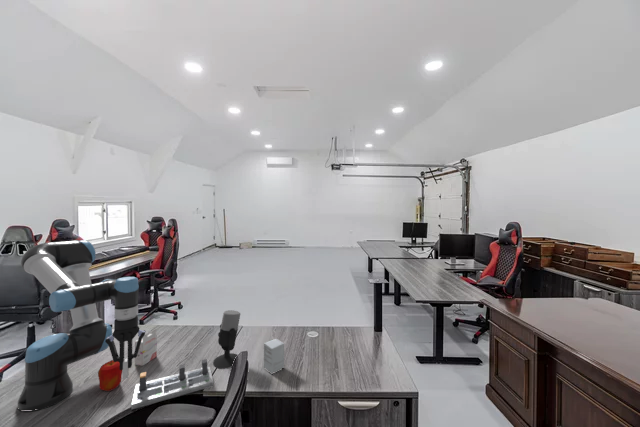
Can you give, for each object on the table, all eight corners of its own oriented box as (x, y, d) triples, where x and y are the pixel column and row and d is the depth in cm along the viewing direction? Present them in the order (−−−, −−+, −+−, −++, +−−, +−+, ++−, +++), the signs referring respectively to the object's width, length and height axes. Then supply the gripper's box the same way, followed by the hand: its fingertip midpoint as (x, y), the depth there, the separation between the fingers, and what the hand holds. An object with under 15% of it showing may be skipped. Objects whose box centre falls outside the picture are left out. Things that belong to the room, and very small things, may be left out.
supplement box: (275, 362, 131) (276, 337, 131) (284, 369, 126) (284, 343, 126) (262, 368, 126) (263, 342, 126) (271, 375, 120) (272, 348, 120)
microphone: (245, 361, 132) (246, 312, 132) (220, 372, 122) (221, 319, 122) (232, 351, 140) (233, 305, 140) (208, 361, 131) (209, 312, 131)
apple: (106, 381, 114) (106, 355, 114) (127, 380, 115) (128, 353, 115) (92, 395, 105) (93, 366, 105) (115, 393, 106) (116, 365, 106)
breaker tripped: (137, 394, 103) (138, 377, 103) (138, 390, 106) (139, 373, 106) (146, 392, 105) (147, 375, 105) (147, 388, 107) (147, 371, 107)
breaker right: (200, 377, 114) (201, 363, 114) (200, 374, 117) (200, 360, 117) (208, 376, 116) (208, 361, 116) (207, 372, 118) (207, 358, 118)
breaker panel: (131, 409, 98) (131, 400, 98) (135, 389, 109) (136, 380, 109) (213, 386, 112) (213, 377, 112) (209, 370, 124) (209, 362, 124)
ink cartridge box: (148, 355, 135) (149, 327, 135) (156, 356, 134) (157, 328, 134) (133, 364, 126) (134, 334, 127) (142, 366, 125) (143, 336, 126)
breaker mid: (177, 384, 110) (178, 369, 110) (177, 380, 113) (178, 365, 113) (185, 382, 111) (186, 367, 111) (185, 378, 114) (185, 363, 114)
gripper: (103, 323, 96) (102, 387, 96) (145, 317, 102) (144, 376, 102) (107, 316, 102) (106, 376, 102) (147, 311, 109) (146, 367, 109)
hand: (125, 376), depth 102 cm, fingers closed
